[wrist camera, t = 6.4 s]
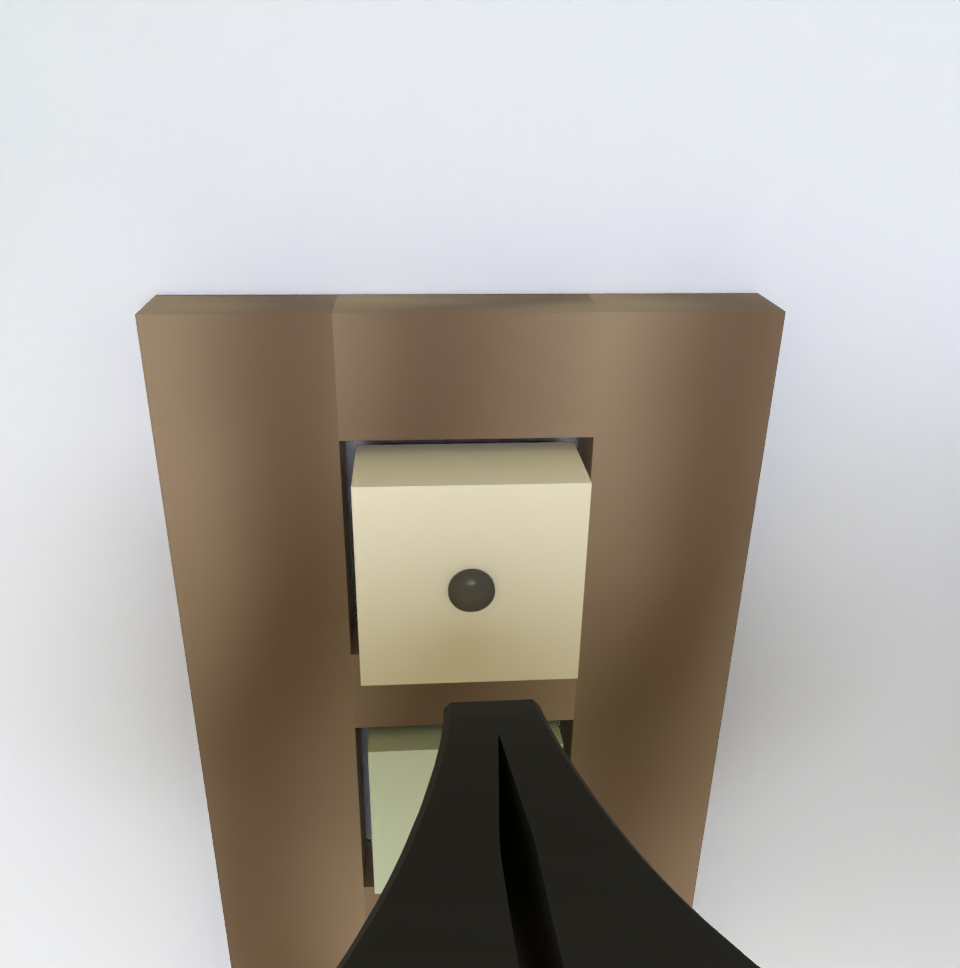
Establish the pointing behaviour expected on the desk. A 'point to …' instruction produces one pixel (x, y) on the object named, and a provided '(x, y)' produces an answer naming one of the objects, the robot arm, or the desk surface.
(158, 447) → the button board
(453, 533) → the cream button
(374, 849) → the sage button
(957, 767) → the desk surface
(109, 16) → the desk surface
